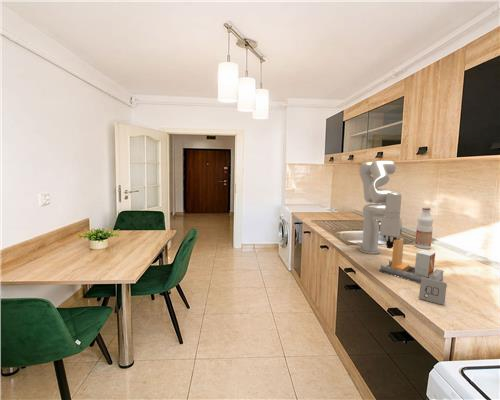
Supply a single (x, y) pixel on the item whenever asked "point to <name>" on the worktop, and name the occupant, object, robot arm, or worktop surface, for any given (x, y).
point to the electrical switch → (433, 290)
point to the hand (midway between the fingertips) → (389, 247)
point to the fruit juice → (424, 230)
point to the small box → (424, 263)
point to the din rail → (411, 273)
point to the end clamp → (398, 256)
